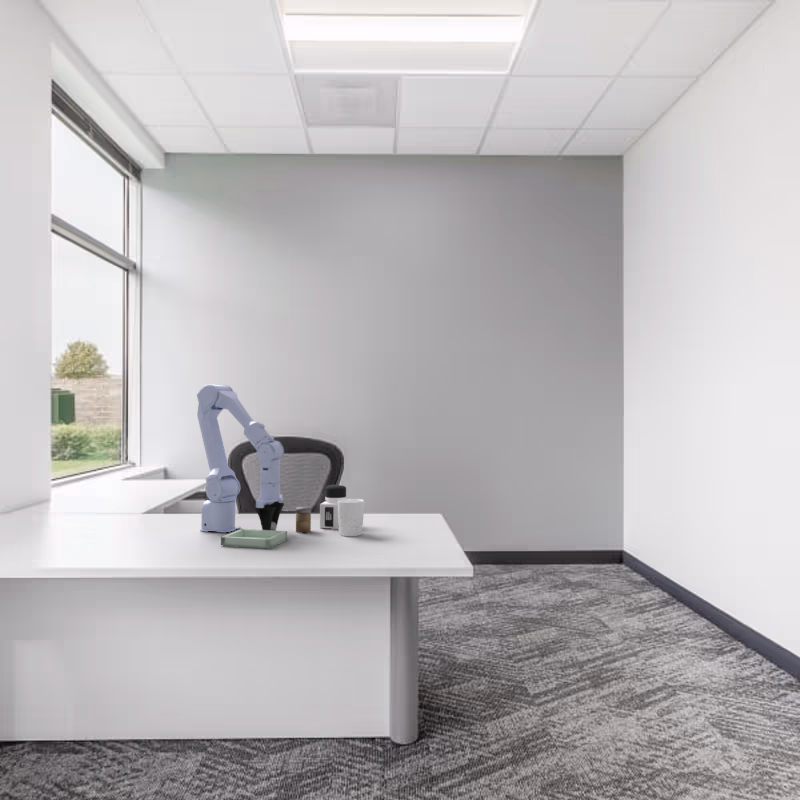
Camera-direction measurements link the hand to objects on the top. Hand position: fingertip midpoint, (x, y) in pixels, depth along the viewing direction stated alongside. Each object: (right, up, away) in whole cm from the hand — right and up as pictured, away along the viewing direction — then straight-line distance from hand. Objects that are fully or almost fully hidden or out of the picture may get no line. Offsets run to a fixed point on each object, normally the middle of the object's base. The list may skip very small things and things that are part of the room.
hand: (269, 529), depth 187 cm
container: (+18, -2, +12) cm, 22 cm away
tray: (-2, -1, -12) cm, 12 cm away
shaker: (+9, -2, +5) cm, 10 cm away
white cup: (+24, -2, +1) cm, 24 cm away
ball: (0, -2, 0) cm, 2 cm away
